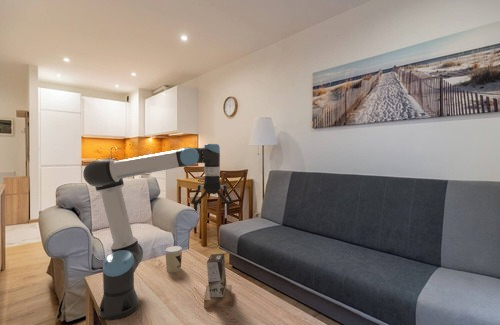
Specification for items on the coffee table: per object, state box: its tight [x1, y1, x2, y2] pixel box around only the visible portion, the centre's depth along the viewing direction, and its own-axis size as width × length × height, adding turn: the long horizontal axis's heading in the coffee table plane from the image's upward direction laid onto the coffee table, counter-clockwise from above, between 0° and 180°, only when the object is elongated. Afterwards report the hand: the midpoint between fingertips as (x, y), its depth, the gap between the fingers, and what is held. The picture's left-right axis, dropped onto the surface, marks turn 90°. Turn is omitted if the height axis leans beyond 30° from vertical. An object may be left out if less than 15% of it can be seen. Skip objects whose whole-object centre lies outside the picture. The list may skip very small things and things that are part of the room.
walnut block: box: [203, 284, 233, 309], centre depth 120 cm, size 12×12×4 cm
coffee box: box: [206, 253, 228, 297], centre depth 119 cm, size 9×6×16 cm
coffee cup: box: [164, 245, 183, 273], centre depth 149 cm, size 9×9×12 cm
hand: (212, 217), depth 130 cm, fingers open, 13 cm apart
